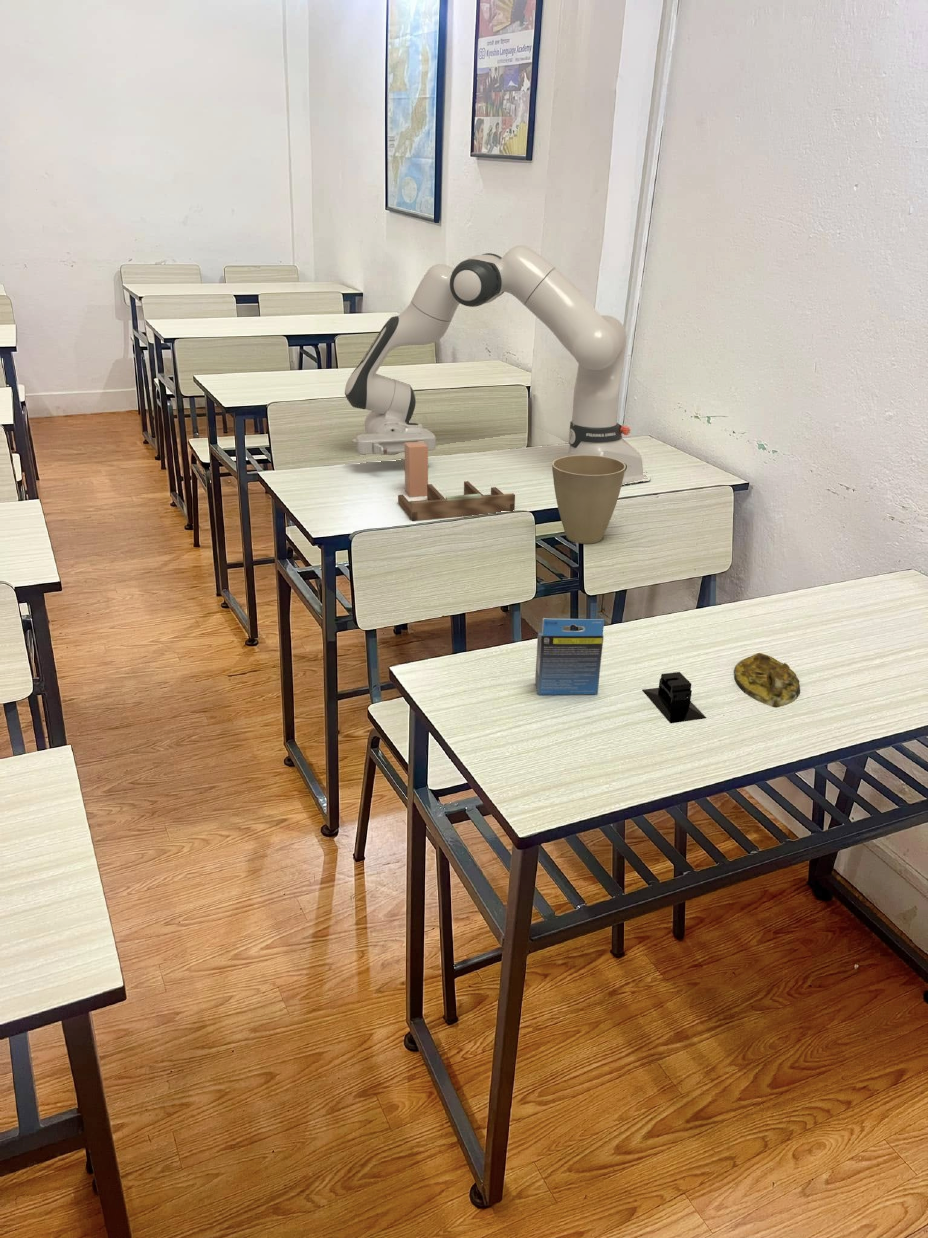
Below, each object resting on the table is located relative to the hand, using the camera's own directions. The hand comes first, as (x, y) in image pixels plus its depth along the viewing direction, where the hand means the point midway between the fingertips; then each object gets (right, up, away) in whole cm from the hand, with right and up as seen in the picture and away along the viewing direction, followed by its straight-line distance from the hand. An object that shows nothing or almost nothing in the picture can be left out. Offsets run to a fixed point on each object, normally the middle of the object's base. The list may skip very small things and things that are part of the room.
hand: (402, 450), depth 222 cm
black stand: (+45, -54, -94) cm, 118 cm away
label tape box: (+30, -52, -91) cm, 109 cm away
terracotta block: (+4, -12, -7) cm, 14 cm away
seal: (+60, -52, -88) cm, 119 cm away
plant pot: (+40, -25, -34) cm, 58 cm away
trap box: (+13, -16, -16) cm, 27 cm away
